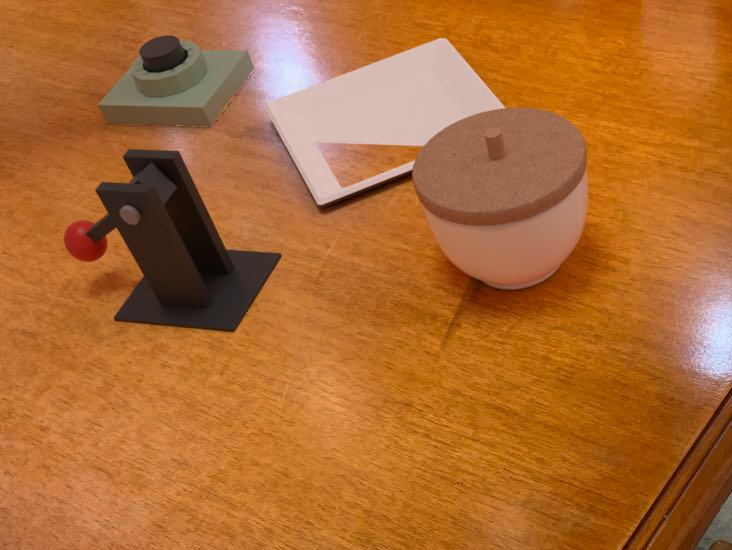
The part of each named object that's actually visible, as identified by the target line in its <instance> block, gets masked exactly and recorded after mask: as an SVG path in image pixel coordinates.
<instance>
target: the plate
mask: <svg viewBox="0 0 732 550" xmlns="http://www.w3.org/2000/svg"><path fill="white" fill-rule="evenodd" d="M263 107H264V109H265V111H266V113H267V114H268V117H269V118H270V121H271V122H272V124H273V125H274V127H275V129H276V132H277V133H278V135H279V136H280V137H279V138H281V140H282V142H283V144H284V146H285V147H286V149H287V151H288V153H289V155H290V156H291V159H292V160H293V162H294V164H295V166H296V168H297V170H298V172H299V173H300V175H301V177H302V178H303V180H304V182H305V184H306V186H307V188H308V189H309V191H310V194H311V195H312V197H313V199H314V200H315V203H316V204H317V205H318V206H320V207H324V208H325V207H328V206H331V205H333V204H336V203H338V202H341V201H343V200H346V199H349V198H351V197H353V196H356V195H359V194H362V193H364V192H367V191H369V190H371V189H374V188H376V187H379V186H382V185H384V184H387V183H389V182H392V181H394V180H398V179H399V178H402V177H405V176H407V175H410V174H412V170H413V165H414V163H415V160H416V159H415V160H412V161H410V162H407V163H405V164H401V165H399V166H397V167H393V168H392V169H389V170H386V171H384V172H381V173H379V174H376V175H373V176H371V177H369V178H366V179H363V180H361V181H358V182H356V183H353V184H350V185H348V186H346V187H344V186H343V187H342V186H341V185H340V183H339V181H338V179H337V177H336V176H335V174H334V172H333V171H332V169H331V167H330V165H329V164H328V162H327V161H326V159H325V156H324V155H323V154H322V152H321V150H320V148H319V147H318V145H317V144H318V143H321V144H346V145H347V144H348V145H349V144H350V145H351V144H352V145H353V144H354V145H381V146H409V147H410V146H411V147H423V146H424V145H425V144H426V143H427V142H428V141H429V140H430V139H431V138H432V137H433V136H435V135H436V134H437V133H438V132H440V131H441V130H443V129H444V128H446V127H448V126H450V125H451V124H453V123H455V122H457V121H459V120H462V119H464V118H467V117H469V116H472V115H475V114H478V113H482V112H486V111H491V110H496V109H503V108H506V106H505V105H504V104H503V103H502V102H501V101H500V99H499V98H498V97H497V96H496V94H495V93H494V92H493V91H492V90H491V89H490V88H489V86H488V85H487V84H486V83H485V82H484V80H483V79H481V77H480V76H479V74H477V73H476V71H475V70H474V69H473V68H472V67H471V65H470V64H469V63H468V62H467V61H466V60H465V58H464V57H463V56H462V55H461V54H460V53H459V51H458V50H457V49H456V48H455V47H454V45H453V44H452V42H450V41H449V39H447V38H446V37H439V38H437V39H434V40H431V41H429V42H425V43H422V44H421V45H418V46H416V47H412V48H411V49H407V50H405V51H402V52H399V53H396V54H394V55H391V56H388V57H386V58H383V59H381V60H378V61H375V62H373V63H370V64H367V65H364V66H362V67H359V68H357V69H354V70H351V71H348V72H346V73H343V74H340V75H338V76H335V77H332V78H330V79H327V80H324V81H322V82H319V83H317V84H314V85H311V86H308V87H305V88H303V89H301V90H298V91H295V92H292V93H290V94H288V95H285V96H282V97H279V98H277V99H274V100H271V101H268V102H267V103H266V104H265V105H264V106H263ZM316 143H317V144H316Z"/></svg>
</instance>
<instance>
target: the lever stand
mask: <svg viewBox="0 0 732 550" xmlns="http://www.w3.org/2000/svg"><path fill="white" fill-rule="evenodd" d="M122 159H123V161H124V162H125V165H126V167H127V168H128V170H129V172H130V174H131V176H132V178H133V177H134V176H136V175H137V174H138V173H139V172H140V171H142V170H143V169H144V168H145V167H147V166H148V165H149V164H150V163H153V164H154V165H155V166H156V167H157V168H158V169H159V170H160V171H161V172H162V173H163V174H164V175H165V176H166V177H167V178H169V179H170V180H171V181H172V182H173V183H174V184H175V185H176V186H177V189H176V190H175V192H174V193H173V194H172V196H171V197H170V198H169V200H168V201H167V202H166V204H165V205H163V203H162V201H161V199H160V197H159V195H158V193H157V191H156V189H155V187H154V186H153V184H133V183H129V182H111V181H110V182H109V181H101V182H100V183H99V185H98V186H97V187H96V188H95V189H94V190H95V191H94V192H95V193H96V195H97V196H98V199H99V200H100V202H101V204H102V205H103V207H104V208H105V210H106V212H107V213H108V214H109V216H110V217H111V219H112V221H113V222H114V224H115V226H116V228H115V229H117V231H118V233H119V235H120V236H121V238H122V239H123V242H124V244H125V245H126V247H127V248H128V249H127V250H128V251H129V252H130V254H131V256H132V257H133V259H134V261H135V263H136V264H137V266H138V268H139V270H140V271H141V274H142V275H143V276H142V278H141V279H140V280H139V281H138V283H137V284H136V286H135V287H134V289H133V290H132V291H131V292H130V294H129V296H128V297H127V298H126V300H125V301H124V302H123V304H122V305H121V307H120V308H119V309H118V311H117V312H116V313H115V315H114V316H113V320H114V321H115V322H123V323H134V324H143V325H153V326H154V325H155V326H163V327H164V326H165V327H175V328H185V329H187V328H188V329H196V330H208V331H217V332H218V331H219V332H228V333H235V332H236V330H238V327H240V324H241V322H242V321H243V319H244V318H245V316H246V315H247V313H248V311H249V310H250V308H251V306H252V305H253V303H254V301H255V300H256V298H257V297H258V295H259V294H260V292H261V291H262V289H263V287H264V286H265V284H266V282H267V281H268V280H269V278H270V276H271V275H272V273H273V271H274V270H275V268H276V266H277V265H278V263H279V262H280V260H281V259H282V253H281V252H271V251H269V252H268V251H266V252H265V251H253V250H252V251H251V250H238V249H227V248H226V246H225V244H224V241H223V240H222V238H221V236H220V234H219V232H218V230H217V227H216V225H215V223H214V221H213V219H212V217H211V215H210V213H209V211H208V209H207V207H206V204H205V202H204V200H203V198H202V196H201V193H200V192H199V190H198V188H197V186H196V184H195V181H194V180H193V177H192V175H191V173H190V171H189V168H188V166H187V165H186V162H185V160H184V159H183V156H182V154H181V153H180V151H179V150H168V149H167V150H165V149H164V150H163V149H162V150H161V149H139V148H136V149H135V148H129V149H127V151H125V153H124V154H123V155H122Z"/></svg>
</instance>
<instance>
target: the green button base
mask: <svg viewBox="0 0 732 550" xmlns="http://www.w3.org/2000/svg"><path fill="white" fill-rule="evenodd" d="M179 41H180V43H181V45H182V48H183V50H184V52H185V54H186V57H187V59H186V60H185V61H184V62H183V63H182V64H180V65H179V66H177V67H175V68H173V69H172V70H168V71H164V72H161V73H149V72H148V71H147V68H146V66H145V64H144V62H143V60H142V58H141V56H140V54H139V55H138V56H137V57H136V59H134V61H133V62H131V65H130V67H129V68H128V69H127V71H126V72H125V73H124V74H123V75H122V76H121V77H120V78H119V79H118V81H117V82H116V83H115V84H114V86H113V87H112V88H111V89H110V90H109V91H108V92H107V93H106V94H105V96H104V97H103V98H102V99H101V100H100V102H98V104H97V107H98V108H99V110H100V112H101V115H102V116H103V118H104V119H105V122H106V123H107V125H108V124H126V125H125V126H128V125H127V124H130V125H129V126H138V125H140V124H141V125H163V126H162V127H171V126H176V125H178V126H179V125H181V126H182V125H183V126H204V127H205V126H206V127H207V126H208V127H212V125H213V124H214V123H215V121H216V119H217V118H218V117H219V115H220V113H221V111H222V110H223V108H224V107H225V106H226V104H227V103H228V102H229V101H230V99H231V98H232V97H233V96H234V95H235V94H236V92H237V91H238V90H239V89H240V88H241V86H242V84H243V83H244V82H245V80H246V79H247V78H248V76H249V74H250V73H251V72H252V70H253V69H255V65H254V63H253V61H252V58H251V56H250V53H249V51H248V49H201V47H200V46H199V45H197V44H196V43H194V42H192V41H190V40H179ZM132 124H133V125H132ZM134 124H135V125H134ZM137 124H138V125H137ZM215 124H216V123H215ZM215 124H214V125H215ZM164 125H165V126H164ZM166 125H167V126H166ZM204 127H203V128H204ZM212 128H213V127H212Z"/></svg>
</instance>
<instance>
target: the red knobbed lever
mask: <svg viewBox="0 0 732 550" xmlns="http://www.w3.org/2000/svg"><path fill="white" fill-rule="evenodd" d="M128 183H133V184H153V186H154V187H155V189H156V191H157V193H158V195H159V197H160V199H161V201H162V203H163V205H165V204H166V202H167V201H168V200H169V198H170V197H171V196H172V194H173V193H174V192H175V190H176V189H177V186H176V185H175V184H174V183H173V182H172V181H171V180H170V179H169V178H167V177H166V176H165V175H164V174H163V173H162V172H161V171H160V170H159V169H158V168H157V167H156V166H155V165H154V164H153V163H150V164H149V165H148V166H147V167H145V168H144V169H143V170H142V171H140V172H139V173H138V174H137V175H136V176H134V177H133V176H132V178H131V180H130V181H129V182H128ZM115 229H117V228H116V226H115V224H114V222H113V221H112V219H111V217H110V216H109V214H108V212H107V213H106V214H105V215H104V216H102V217H100V219H98V220H97V221H96V222H93V221H90V220H87V219H80V220H76V221H73V222H72V223H70V224H69V225H68V226H67V227H66V229H65V232H64V234H63V244H64V247H65V250H66V251H67V253H69V255H71V257H73V258H74V259H76V260H77V261H80V262H85V263H93V262H96V261H97V260H99V259H101V258H102V257H103V256H104V255H105V254H106V252H107V249H108V238H107V235H108V234H110V233H112V232H113V231H114V230H115Z"/></svg>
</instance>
